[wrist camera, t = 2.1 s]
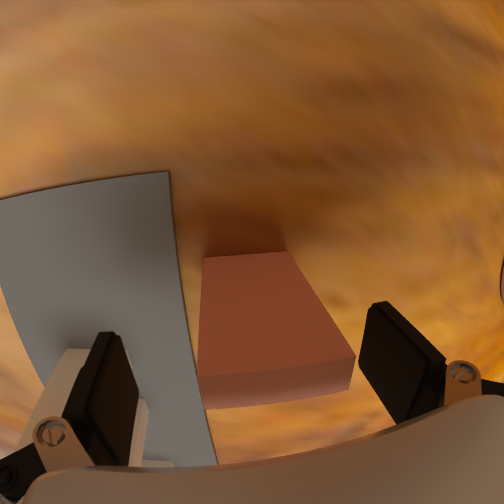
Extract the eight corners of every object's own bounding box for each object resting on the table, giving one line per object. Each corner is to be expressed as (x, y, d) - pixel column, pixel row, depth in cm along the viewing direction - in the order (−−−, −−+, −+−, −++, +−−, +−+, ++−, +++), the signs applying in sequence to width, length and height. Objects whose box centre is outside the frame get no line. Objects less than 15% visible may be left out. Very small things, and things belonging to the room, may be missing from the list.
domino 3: (287, 251, 18) (356, 355, 9) (286, 275, 19) (348, 389, 9) (203, 257, 18) (197, 376, 8) (205, 282, 18) (204, 409, 9)
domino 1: (127, 349, 19) (90, 472, 9) (132, 366, 19) (103, 487, 10) (66, 348, 18) (14, 453, 9) (73, 365, 19) (28, 469, 9)
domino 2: (144, 398, 20) (126, 510, 11) (149, 411, 21) (135, 518, 11) (88, 395, 20) (56, 495, 10) (95, 408, 20) (68, 505, 11)
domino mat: (169, 170, 16) (167, 171, 15) (224, 485, 27) (224, 489, 27) (-14, 203, 14) (-19, 205, 14) (114, 481, 26) (113, 484, 25)
